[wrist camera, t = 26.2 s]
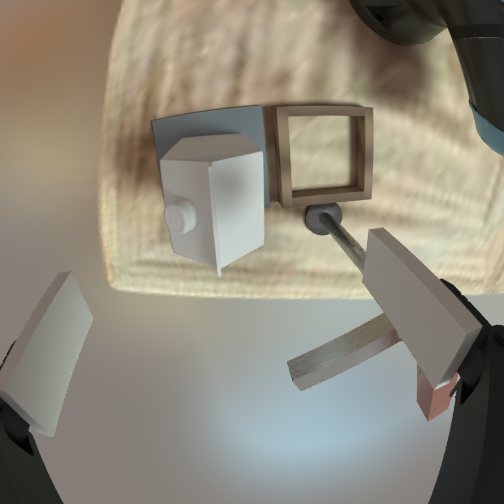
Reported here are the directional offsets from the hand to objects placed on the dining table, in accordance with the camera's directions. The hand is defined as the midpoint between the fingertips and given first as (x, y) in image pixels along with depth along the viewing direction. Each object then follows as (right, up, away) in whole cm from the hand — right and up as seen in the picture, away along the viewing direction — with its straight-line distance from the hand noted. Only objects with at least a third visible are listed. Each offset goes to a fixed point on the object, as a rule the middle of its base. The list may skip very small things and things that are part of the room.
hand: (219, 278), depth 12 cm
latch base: (+11, +6, +27) cm, 30 cm away
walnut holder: (+10, +14, +23) cm, 29 cm away
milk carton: (-3, +12, +22) cm, 25 cm away
